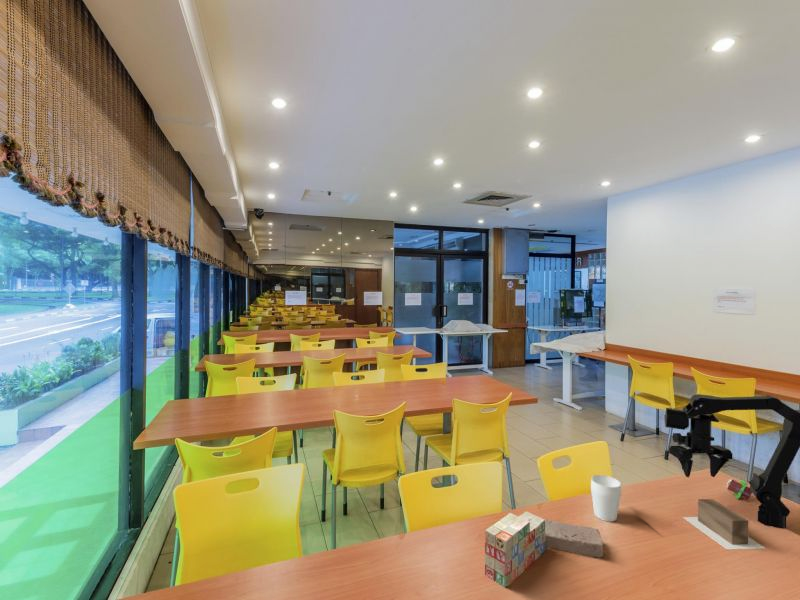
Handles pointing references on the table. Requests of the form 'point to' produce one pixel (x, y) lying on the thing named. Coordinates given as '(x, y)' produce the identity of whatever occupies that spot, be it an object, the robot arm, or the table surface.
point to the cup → (605, 497)
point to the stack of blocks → (513, 546)
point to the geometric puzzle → (739, 489)
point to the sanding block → (723, 521)
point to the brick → (573, 538)
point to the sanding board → (719, 539)
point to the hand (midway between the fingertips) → (699, 476)
